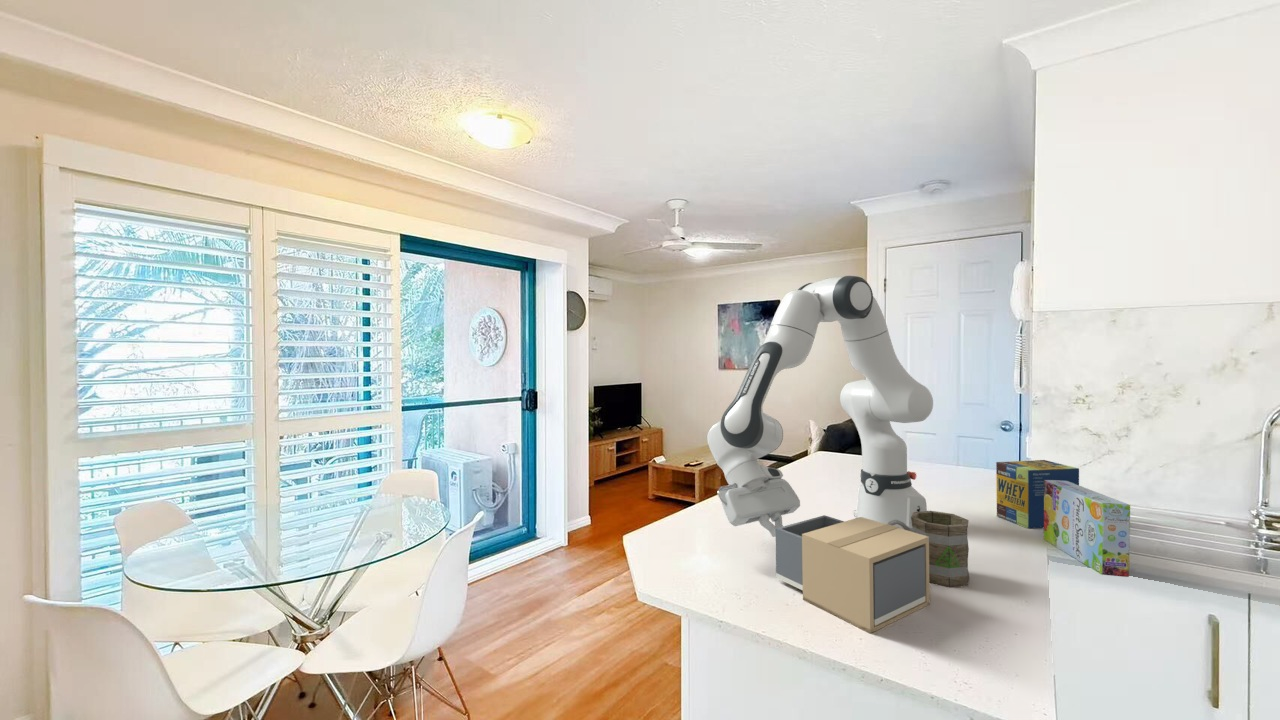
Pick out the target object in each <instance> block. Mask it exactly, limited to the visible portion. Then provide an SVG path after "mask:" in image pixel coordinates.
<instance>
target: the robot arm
mask: <svg viewBox="0 0 1280 720" xmlns="http://www.w3.org/2000/svg"><path fill="white" fill-rule="evenodd" d="M836 321H837V322H838V323H839V324H840V328H841V329H840V330H841V333H842V337H843V341H844V345H845V349H846V351H847V356H848V359H849V362H850V365H851V366H852V368H853V369H855V370H856V371H857V372H858V373H860V374H861V375H863V376H864V377H865V378H866V379H859V380H853V381H849V382H848V383H846V384H845V385H844V386H843V387H842V389H841V391H840V394H839V402H840V406H841V408H842V409H843V410H844V412H845V413H846V414H848V416H849V417H850V418H851V421H853V423H854V426H855V428H856V430H857V432H858V435H859V439H860V444H861V460H862V461H861V462H862V464H861V465H862V468H861V469H860V483H861V485H859V487H858V488H857V489H858V490H857V491H858V492H857V501H856V509H855V510H853V516H855V518H859V517H863V518H867V519H870V520H873V521H877V522H880V523H884V524H888V522H890V521H893V520H895V519H896V520H899V521H901V522H903V523H904V524H905V525H907V526H908V527H909V528H912V521H911V516H912V514H913V512H920V511H928V507H927V499H926V498H925V496H924V495H922V494H921V493H920V492H919V491H918V490H916V489H915V487H913V486H912V484H913V483H912V480H916V479H917V473H916V472H914V471H908V447H907V444H906V442H905V440H904V439H903V438H901V437H900V436H899V435H898V434H897V433H896V431H895V430H894V428H893V427H892V425H891V422H892V423H893V422H894V423H901V424H910V423H919V422H923V421H926V420H927V418H928V417H929V416H930V415H931V414H932V412H933V407H934V399H933V396H932V393H931V391H930V390H929V388H928V387H927V386H925V385H923V384H921V382H918V380H916V379H915V378H914V377H913V376H912V375H911V374H910V373H909V372H908V371H907V370H906V369H905V368H904V366H903V365H902V363H901V362H900V360H899V359H898V357H897V354H896V351H895V349H894V346H893V343H892V340H891V335H890V333H889V328H888V325H887V322H886V319H885V316H884V313H883V311H882V309H881V306H880V305H879V302H878V301H877V298H875V296H874V293H873V290H872V287H871V285H870V284H869V283H868V281H866V279H865V278H863V277H860V276H856V275H845V276H840V277H839V276H837V277H829V278H825V279H822V280H818V281H814V282H808V283H806V284H804V285H802V286H800V287H799V288H798V289H795V290H791V291H789V292H787V293H786V294H785V295H784V296H783V298H782V300H781V301H780V303H779V305H778V307H777V309H776V311H775V312H774V316H773V318H772V320H771V323H770V326H769V329H768V332H767V335H766V337H765V339H764V340H763V343H762V345H760V346H759V348H758V349H757V351H756V353H755V354H754V356H753V359H752V360H751V362H750V364H749V366H748V368H747V371H746V373H745V376H744V377H743V379H742V383H741V385H740V386H739V389H738V391H737V393H736V396H735V397H734V399H733V401H732V402H731V403H730V404H729V406H727V408H726V409H725V411H724V412H723V414H722V416H721V419H720V420H719V421H718V422H716V423H714V425H712V427H710V429H709V431H707V436H706V440H707V445H708V448H709V450H710V453H711V455H712V457H713V459H714V460H715V463H716V464H717V466H718V467H719V468H720V469H721V470H722V472H723V473H724V474H723V475H724V478H725V480H726V482H727V484H728V485H722V486H720V487H719V488H718V490H717V496H718V498H719V500H720V502H721V505H722V508H723V511H724V513H725V516H726V519H727V521H728V523H730V525H732V526H733V527H738V526H742V525H747V524H750V523H755V522H758V523H759V525H761V526H762V527H763V528H764V529H766V530H767V531H768V532H769V533H770V536H771V537H772V538H776V528H779V527H783V526H784V525H783V517H782V516H785V515H788V514H792V513H795V512H796V511H797V510H798V509H799V508H800V506H801V500H800V499H799V496H798V495H797V493H796V492H795V489H793V487H792V486H791V484H790V483H789V481H787V480H786V479H784V478H783V477H784V474H783V472H782V471H781V469H779V468H773V467H768V466H766V465H761V464H760V463H759V461H758V460H759V459H761V458H763V457H766V456H767V455H770V454H771V453H773V452H775V451H777V449H778V448H779V447H780V446H781V444H782V442H783V439H784V430H783V426H782V424H781V423H780V422H779V421H778V420H777V419H776V418H774V417H772V416H771V415H769V414H767V413H765V412H764V411H763V407H764V403H765V401H766V398H767V396H768V394H769V390H770V389H771V386H772V384H773V382H774V380H775V378H776V376H777V375H778V374H779V373H780V372H781V371H783V370H787V369H793V368H797V367H799V366H800V365H803V363H805V362H806V360H807V358H808V357H809V354H810V353H811V350H812V347H813V344H814V341H815V338H816V335H817V331H818V327H819V324H820V323H832V322H836ZM770 520H771V521H770ZM893 526H896V527H899V528H901V529H904V528H903V527H902V526H901V525H898V524H895V525H893ZM904 530H905V529H904Z"/></svg>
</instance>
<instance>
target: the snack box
mask: <svg viewBox="0 0 1280 720" xmlns="http://www.w3.org/2000/svg"><path fill="white" fill-rule="evenodd" d="M1130 535H1131V504H1129V503H1126V502H1123V501H1120V500H1119V499H1115V498H1113V497H1111V496H1108V495H1105V494H1103V493H1100V492H1097V491H1094V490H1092V489H1089V488H1086V487H1084V486H1082V485H1080V484H1079V485H1076V484H1074V483H1071V482H1069V481H1060V480H1044V528H1043V540H1044V541H1046V542H1047V543H1050V544H1051V545H1053V546H1054V547H1055V548H1057V549H1059V550H1060V551H1062V552H1064V553H1065V554H1067V555H1069V556H1071V557H1072V558H1074V559H1075V560H1076V561H1077V560H1078V562H1081V563H1082V564H1083V565H1085V566H1087V567H1089V568H1090V569H1092V570H1093V571H1095V572H1096V573H1098V574H1100V575H1102V576H1103V575H1104V576H1111V577H1112V576H1113V577H1121V578H1123V577H1124V578H1129V577H1130V549H1131V547H1130V544H1131V543H1130V541H1131V540H1130V538H1131V536H1130Z"/></svg>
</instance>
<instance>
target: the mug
mask: <svg viewBox="0 0 1280 720" xmlns="http://www.w3.org/2000/svg"><path fill="white" fill-rule="evenodd" d="M911 521H912V528H909V527H908V526H907V525H905V524H904V523H903V522H901V521H899V520H896V519H895V520H893V521H890V522H888V524H889V525H895V524H898V525H901V526H902V527H903V528H904V529H905V530H908V531H911V532H914V533H918V534H921V535H925V536H928V537H929V585H930V584H931V585H936V586H940V587H943V588H944V587H945V588H950V589H951V588H961V586H962V587H968V586H969V584H970V583H969V581H970V574H969V551H970V550H969V540H968V528H969V519H967V518H964V517H962V516H960V515H957V514H954V513H949V512H943V511H935V510H927V511H920V512H913V514H912V516H911Z"/></svg>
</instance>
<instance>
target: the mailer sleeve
mask: <svg viewBox="0 0 1280 720" xmlns="http://www.w3.org/2000/svg"><path fill="white" fill-rule="evenodd" d="M920 545H922V546H925V602H923V603H921V604H919V605H917V606H915V607H913V608H911V609H908V610H906V611H904V612H902V613H900V614H898V615H896V616H894V617H892V618H890V619H888V620H886V621H884V622H882V623H880V624H878V625H874V603H873V563H875V562H878V561H880V560H883V559H886V558H888V557H891V556H893V555H896V554H899V553H901V552H904V551H907V550H909V549H912V548H915V547H917V546H920ZM802 572H803V590H802V600H803V601H804V602H807V603H809V604H811V605H812V606H815V607H817V608H818V609H821V610H822V611H824V612H827V613H829V614H830V615H833V616H835V617H837V618H838V619H841V620H842V621H845V622H847V623H849V624H850V625H853V626H855V627H857V628H858V629H860V630H862V631H864V632H866V633H868V634H871V633H874V632H876V631H878V630H880V629H882V628H884V627H886V626H888V625H891V624H892V623H895V622H896V621H898V620H900V619H902V618H904V617H906V616H908V615H911V614H913V613H914V612H917V611H918V610H920V609H922V608H924V607H927V606H929V605H930V604H931V603H930V602H931V600H930V583H929V537H928V536H925V535H921V534H918V533H914V532H911V531H908V530H904V529H901V528H899V527H896V526H893V525H889V524H884V523H880V522H877V521H873V520H870V519H867V518H863V517H859V518H857V517H855V518H852V519H849V520H845V522H841V523H838V524H835V525H831V526H828V527H824V528H821V529H817V530H814V531H811V532H807V533H804V534H802Z"/></svg>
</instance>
